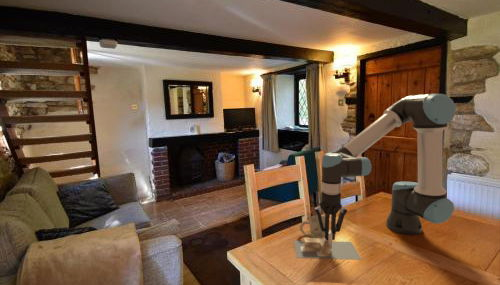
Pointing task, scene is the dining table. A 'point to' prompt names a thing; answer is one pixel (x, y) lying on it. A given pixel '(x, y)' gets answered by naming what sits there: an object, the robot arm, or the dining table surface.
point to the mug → (313, 226)
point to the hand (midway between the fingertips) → (329, 246)
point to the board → (337, 252)
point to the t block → (318, 245)
